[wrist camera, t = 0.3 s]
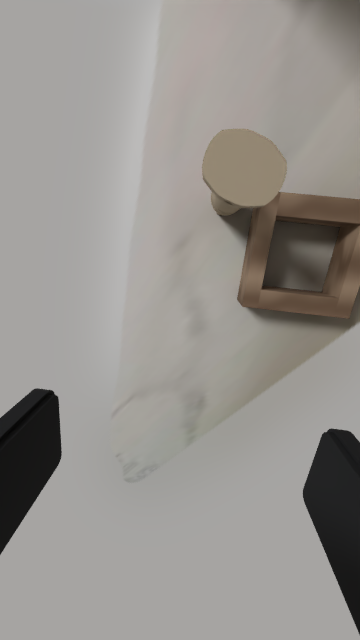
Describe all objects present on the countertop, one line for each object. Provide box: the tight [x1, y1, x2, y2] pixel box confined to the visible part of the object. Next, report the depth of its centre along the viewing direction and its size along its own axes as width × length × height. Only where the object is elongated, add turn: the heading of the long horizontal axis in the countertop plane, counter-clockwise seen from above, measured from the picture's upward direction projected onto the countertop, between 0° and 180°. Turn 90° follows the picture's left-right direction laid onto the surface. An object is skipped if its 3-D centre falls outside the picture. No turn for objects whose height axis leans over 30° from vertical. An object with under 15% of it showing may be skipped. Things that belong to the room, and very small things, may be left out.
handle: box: [202, 129, 287, 216], centre depth 25 cm, size 5×6×15 cm
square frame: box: [237, 192, 360, 319], centre depth 32 cm, size 14×14×4 cm
